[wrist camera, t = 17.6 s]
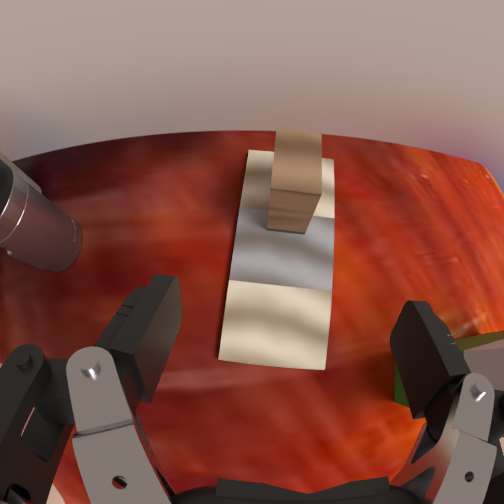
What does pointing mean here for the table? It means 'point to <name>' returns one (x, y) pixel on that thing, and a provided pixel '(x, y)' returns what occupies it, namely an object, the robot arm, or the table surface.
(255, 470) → the table surface
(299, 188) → the block
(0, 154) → the thermos bottle
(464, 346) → the hardback book
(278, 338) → the board
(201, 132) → the table surface
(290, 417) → the table surface
